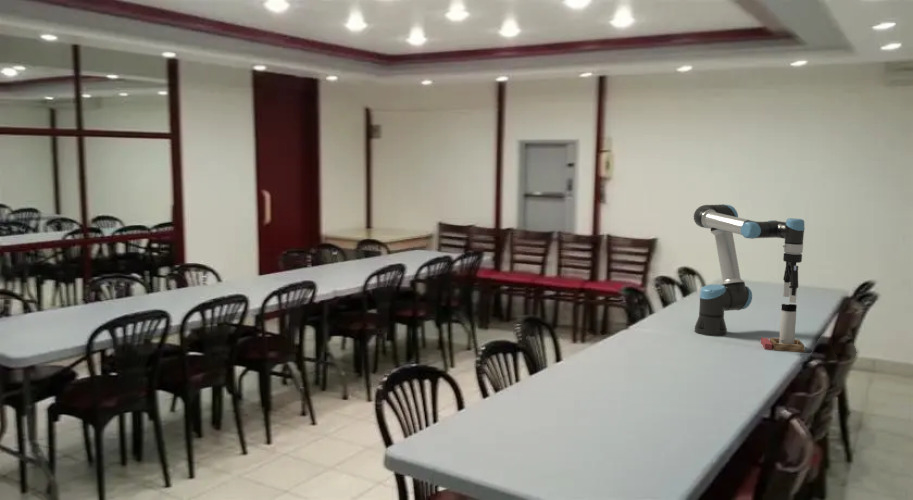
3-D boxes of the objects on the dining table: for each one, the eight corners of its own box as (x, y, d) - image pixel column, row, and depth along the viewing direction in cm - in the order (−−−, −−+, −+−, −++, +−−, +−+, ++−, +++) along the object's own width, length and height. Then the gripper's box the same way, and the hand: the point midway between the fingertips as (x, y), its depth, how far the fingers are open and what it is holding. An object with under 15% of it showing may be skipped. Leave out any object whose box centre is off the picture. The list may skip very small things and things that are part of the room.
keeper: (773, 350, 320) (774, 343, 320) (768, 343, 333) (769, 337, 332) (805, 352, 317) (805, 346, 317) (798, 345, 330) (799, 339, 329)
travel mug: (782, 347, 322) (784, 304, 319) (777, 344, 328) (779, 301, 326) (796, 348, 321) (799, 304, 319) (791, 344, 328) (793, 301, 325)
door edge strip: (764, 349, 322) (765, 343, 322) (760, 342, 334) (761, 337, 333) (772, 349, 321) (772, 344, 321) (767, 343, 333) (767, 338, 333)
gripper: (778, 249, 332) (775, 293, 335) (789, 256, 308) (785, 304, 311) (796, 249, 331) (792, 294, 333) (808, 257, 307) (804, 305, 309)
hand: (789, 299), depth 322 cm, fingers open, 13 cm apart
